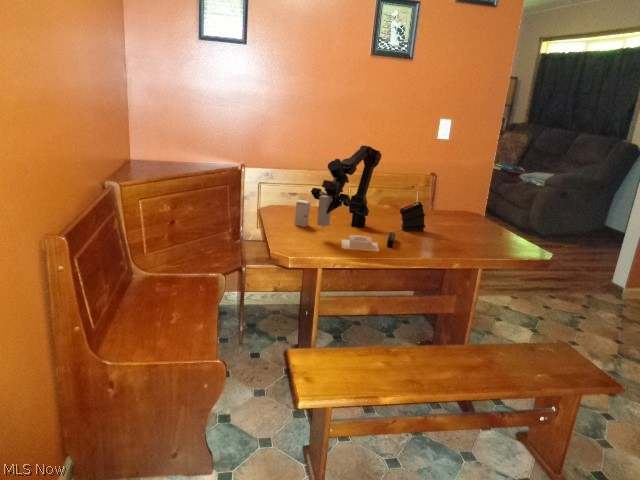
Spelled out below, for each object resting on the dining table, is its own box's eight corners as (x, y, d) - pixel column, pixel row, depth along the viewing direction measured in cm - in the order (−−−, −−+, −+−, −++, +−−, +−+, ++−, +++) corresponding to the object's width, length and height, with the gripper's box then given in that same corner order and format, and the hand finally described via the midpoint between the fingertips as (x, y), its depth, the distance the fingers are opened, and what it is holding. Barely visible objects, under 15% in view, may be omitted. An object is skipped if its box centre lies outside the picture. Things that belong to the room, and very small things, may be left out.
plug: (317, 224, 206) (319, 196, 202) (321, 222, 209) (324, 194, 205) (324, 226, 204) (327, 197, 200) (329, 224, 207) (332, 196, 203)
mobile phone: (394, 240, 202) (395, 230, 216) (387, 239, 203) (389, 229, 217) (392, 251, 204) (394, 240, 218) (385, 250, 204) (387, 239, 218)
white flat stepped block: (341, 250, 198) (342, 241, 197) (341, 241, 210) (342, 233, 208) (378, 253, 198) (379, 245, 197) (376, 244, 209) (377, 236, 208)
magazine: (430, 229, 234) (422, 202, 229) (406, 238, 235) (397, 212, 230) (428, 227, 238) (419, 201, 233) (404, 236, 238) (395, 210, 233)
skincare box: (294, 225, 228) (295, 201, 224) (297, 222, 232) (298, 199, 228) (305, 227, 226) (307, 203, 222) (308, 224, 230) (310, 201, 226)
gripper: (314, 169, 207) (298, 197, 201) (351, 176, 198) (335, 206, 192) (322, 184, 216) (307, 211, 210) (357, 192, 207) (343, 220, 201)
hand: (322, 212), depth 203 cm, fingers closed on plug, 4 cm apart
